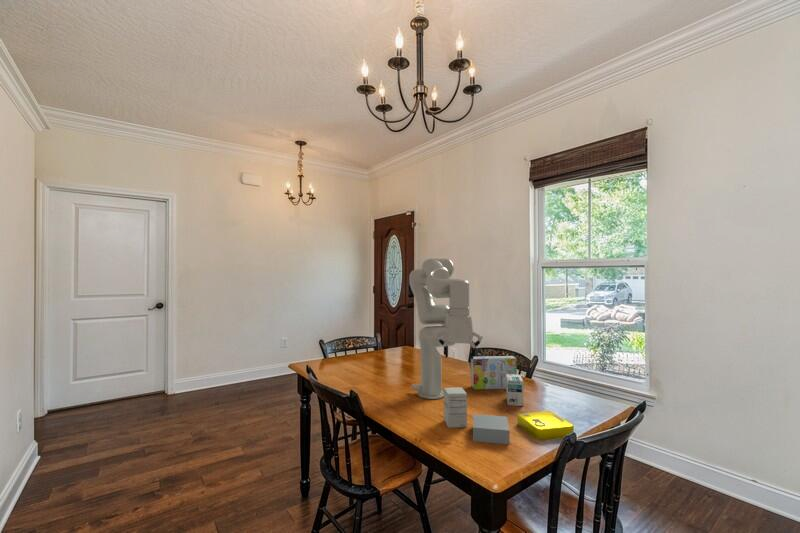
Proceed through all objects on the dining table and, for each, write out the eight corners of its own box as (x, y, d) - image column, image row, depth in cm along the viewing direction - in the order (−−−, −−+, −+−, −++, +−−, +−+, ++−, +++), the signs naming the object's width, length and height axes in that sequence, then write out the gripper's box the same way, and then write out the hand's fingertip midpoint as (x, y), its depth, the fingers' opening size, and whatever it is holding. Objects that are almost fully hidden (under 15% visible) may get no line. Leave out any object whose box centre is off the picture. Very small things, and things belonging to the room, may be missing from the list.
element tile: (576, 438, 134) (576, 424, 134) (537, 442, 131) (537, 428, 131) (550, 421, 148) (550, 408, 148) (515, 424, 145) (515, 412, 145)
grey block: (472, 442, 131) (472, 427, 131) (473, 427, 142) (473, 414, 142) (509, 445, 128) (509, 430, 128) (506, 430, 140) (506, 416, 140)
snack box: (513, 385, 192) (513, 355, 192) (516, 389, 186) (516, 358, 186) (470, 386, 191) (470, 355, 191) (473, 389, 185) (473, 358, 185)
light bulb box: (524, 406, 163) (524, 381, 163) (507, 405, 164) (507, 380, 164) (521, 398, 173) (521, 374, 173) (505, 397, 175) (505, 373, 175)
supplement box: (443, 420, 149) (443, 387, 149) (462, 419, 149) (462, 386, 149) (447, 428, 141) (447, 393, 141) (467, 427, 142) (467, 393, 142)
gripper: (435, 313, 145) (435, 358, 144) (482, 314, 140) (482, 361, 140) (438, 310, 152) (438, 354, 152) (482, 312, 148) (483, 356, 148)
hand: (459, 357), depth 146 cm, fingers open, 9 cm apart
